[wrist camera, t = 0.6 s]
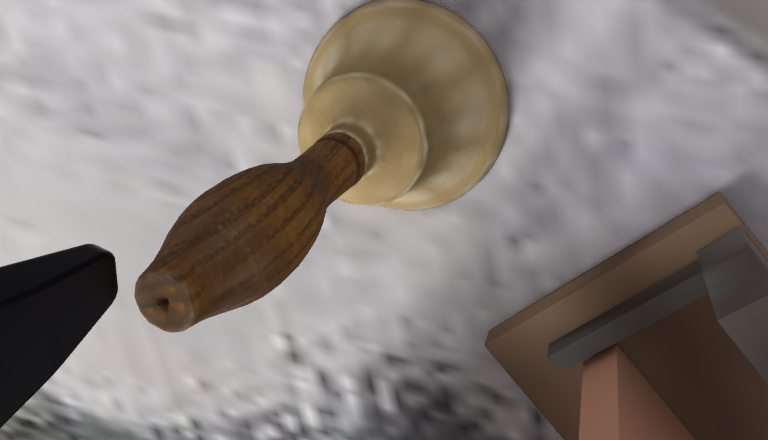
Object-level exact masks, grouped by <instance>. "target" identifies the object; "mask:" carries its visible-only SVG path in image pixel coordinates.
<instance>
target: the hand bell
mask: <svg viewBox="0 0 768 440" xmlns="http://www.w3.org/2000/svg"><path fill="white" fill-rule="evenodd" d="M508 117H509V103H508V94H507V89H506V84H505V79H504V76H503V73H502V71H501V68H500V66H499V63H498V61H497V59H496V57H495V55H494V54H493V52H492V50H491V49H490V47H489V46H488V44H487V43H486V42H485V40H484V39H483V38H482V37H481V36H480V35H479V33H478V32H477V31H476V30H475V29H474V28H473V27H472V26H471V25H469V24H468V23H467V22H466V21H464V20H463V19H462V18H460V17H459V16H458V15H456V14H454V13H453V12H451V11H449V10H447V9H445V8H443V7H440V6H437V5H435V4H432V3H428V2H425V1H420V0H382V1H377V2H373V3H370V4H367V5H365V6H363V7H360V8H358V9H356V10H354V11H353V12H351V13H350V14H348V15H347V16H345V17H344V18H342V19H341V20H340V21H338V22H337V23H336V24H335V25H334V26H333V27H332V28H331V29H330V30H329V31H328V33H327V34H326V35H325V36H324V37H323V38H322V40H321V42H320V43H319V45H318V47H317V48H316V50H315V52H314V54H313V56H312V58H311V60H310V64H309V67H308V69H307V73H306V77H305V82H304V89H303V109H302V112H301V115H300V119H299V124H298V144H299V149H300V153H301V155H300V156H299V157H298V158H296V159H295V160H294V161H292V162H288V163H272V164H262V165H259V166H256V167H252V168H249V169H247V170H244V171H242V172H240V173H237V174H235V175H233V176H231V177H229V178H227V179H225V180H223V181H222V182H220V183H219V184H217V185H215V186H214V187H212V188H211V189H209V190H207V191H206V192H204V193H203V194H202V195H200V196H199V197H198V198H197V199H196V200H194V201H193V202H192V203H191V204H190V205H189V206H188V207H187V208H186V209H185V210H184V212H183V213H182V214H181V215H180V216H179V218H178V219H177V221H176V222H175V224H174V225H173V227H172V228H171V230H170V231H169V233H168V234H167V237H166V239H165V241H164V243H163V245H162V247H161V249H160V251H159V252H158V254H157V256H156V257H155V259H154V260H153V262H152V263H151V264H150V265H149V267H148V268H147V269H146V270H145V271H144V272H143V273H142V274H141V275H140V276H139V278H138V280H137V282H136V286H135V299H136V302H137V305H138V307H139V309H140V312H141V313H142V314H143V316H144V317H145V318H146V319H147V320H148V322H149V323H151V324H153V325H155V326H156V327H158V328H160V329H162V330H164V331H167V332H181V331H184V330H186V329H188V328H190V327H191V326H193V325H195V324H196V323H198V322H200V321H202V320H204V319H206V318H209V317H212V316H215V315H218V314H221V313H224V312H227V311H230V310H233V309H236V308H239V307H242V306H245V305H248V304H250V303H252V302H254V301H256V300H258V299H260V298H262V297H264V296H265V295H266V294H268V293H269V292H270V291H272V290H273V289H275V288H276V287H277V286H278V285H280V284H281V283H282V282H283V281H284V280H285V279H286V278H287V277H288V276H289V275H290V274H291V273H292V272H293V271H294V270H295V269H296V268H297V267H298V266H299V264H300V263H301V262H302V260H303V259H304V258H305V256H306V255H307V254H308V252H309V250H310V249H311V247H312V246H313V244H314V242H315V240H316V238H317V236H318V235H319V232H320V230H321V227H322V225H323V222H324V217H325V213H326V209H327V207H328V206H329V205H330V204H331V203H332V202H333V201H335V200H336V199H337V198H338V199H340V200H342V201H345V202H347V203H351V204H355V205H363V206H375V205H379V206H382V207H386V208H391V209H397V210H425V209H430V208H435V207H438V206H442V205H444V204H447V203H449V202H451V201H454V200H456V199H457V198H459V197H461V196H463V195H464V194H466V193H467V192H468V191H470V190H471V189H472V188H473V187H474V186H475V185H477V184H478V183H479V182H480V181H481V180H482V179H483V178H484V177H485V176H486V174H487V173H488V171H489V170H490V168H491V167H492V165H493V164H494V162H495V161H496V159H497V157H498V154H499V152H500V150H501V147H502V145H503V142H504V139H505V135H506V130H507V126H508Z"/></svg>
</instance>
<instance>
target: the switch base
mask: <svg viewBox="0 0 768 440" xmlns="http://www.w3.org/2000/svg"><path fill="white" fill-rule="evenodd" d="M616 344H617V345H618V346H619V348H620V349H621V350H622V351H623V352H624V354H625V355H626V356H627V357H628V358H629V360H630V361H631V362H632V363H633V365H634V366H635V367H636V368H637V369H638V371H639V372H640V373H641V374H642V375H643V377H644V378H645V379H646V380H647V381H648V383H649V384H650V385H651V386H652V388H653V389H654V390H655V391H656V392H657V394H658V395H659V396H660V397H661V398H662V400H663V401H664V402H665V403H666V404H667V406H668V407H669V408H670V409H671V411H672V412H673V413H674V414H675V415H676V417H677V418H678V419H679V420H680V421H681V423H682V424H683V425H684V426H685V427H686V429H687V430H688V431H689V432H690V434H691V435H692V436H693V437H694V438H695V440H768V253H767V252H766V250H765V249H764V248H763V247H762V245H761V244H760V243H759V242H758V240H757V239H756V238H755V236H754V235H753V234H752V233H751V231H750V230H749V229H748V228H747V226H746V225H745V224H744V223H743V221H742V220H741V219H740V217H739V216H738V215H737V214H736V212H735V211H734V210H733V209H732V207H731V206H730V205H729V204H728V202H727V201H726V200H725V198H724V197H723V196H722V195H721V193H720V192H718V193H716V194H714V195H713V196H711V197H709V198H708V199H706V200H705V201H703V202H701V203H700V204H698V205H696V206H695V207H693V208H691V209H690V210H688V211H686V212H685V213H683V214H681V215H680V216H678V217H676V218H675V219H673V220H671V221H670V222H668V223H667V224H665V225H663V226H662V227H660V228H658V229H657V230H655V231H653V232H652V233H650V234H648V235H647V236H645V237H643V238H642V239H640V240H638V241H637V242H635V243H633V244H632V245H630V246H629V247H627V248H625V249H624V250H622V251H620V252H619V253H617V254H615V255H614V256H612V257H610V258H609V259H607V260H605V261H604V262H602V263H600V264H599V265H597V266H595V267H594V268H592V269H591V270H589V271H587V272H586V273H584V274H582V275H581V276H579V277H577V278H576V279H574V280H572V281H571V282H569V283H567V284H566V285H564V286H562V287H561V288H559V289H557V290H556V291H554V292H553V293H551V294H549V295H548V296H546V297H544V298H543V299H541V300H539V301H538V302H536V303H534V304H533V305H531V306H529V307H528V308H526V309H524V310H523V311H521V312H520V313H518V314H516V315H515V316H513V317H511V318H510V319H508V320H506V321H505V322H503V323H501V324H500V325H498V326H496V327H495V328H493V329H491V330H490V331H489V333H488V336H487V339H486V342H485V347H486V348H487V349H488V350H489V351H490V353H491V354H492V355H493V356H494V357H495V358H496V360H497V361H498V362H499V363H500V364H501V365H502V367H503V368H504V369H505V370H506V371H507V373H508V374H509V375H510V376H511V377H512V378H513V380H514V381H515V382H516V383H517V384H518V386H519V387H520V388H521V389H522V390H523V391H524V393H525V394H526V395H527V396H528V397H529V399H530V400H531V401H532V402H533V403H534V404H535V406H536V407H537V408H538V409H539V410H540V411H541V413H542V414H543V415H544V416H545V417H546V419H547V420H548V421H549V422H550V423H551V424H552V426H553V427H554V428H555V429H556V430H557V432H558V433H559V434H560V435H561V436H562V437H563V439H564V440H579V426H580V409H581V393H582V376H583V362H584V361H586V360H588V359H590V358H592V357H594V356H595V355H597V354H599V353H601V352H603V351H605V350H607V349H609V348H610V347H612V346H614V345H616Z"/></svg>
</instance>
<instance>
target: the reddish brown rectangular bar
mask: <svg viewBox="0 0 768 440" xmlns="http://www.w3.org/2000/svg"><path fill="white" fill-rule="evenodd" d="M579 440H695V438H694V437H693V436H692V435H691V434H690V432H689V431H688V430H687V429H686V427H685V426H684V425H683V424H682V423H681V421H680V420H679V419H678V418H677V417H676V415H675V414H674V413H673V412H672V411H671V409H670V408H669V407H668V406H667V404H666V403H665V402H664V401H663V400H662V398H661V397H660V396H659V395H658V394H657V392H656V391H655V390H654V389H653V388H652V386H651V385H650V384H649V383H648V381H647V380H646V379H645V378H644V377H643V375H642V374H641V373H640V372H639V371H638V369H637V368H636V367H635V366H634V365H633V363H632V362H631V361H630V360H629V358H628V357H627V356H626V355H625V354H624V352H623V351H622V350H621V349H620V348H619V346H618V345H617V344H616V345H614V346H612V347H610V348H609V349H607V350H605V351H603V352H601V353H599V354H597V355H595V356H594V357H592V358H590V359H588V360H586V361H584V362H583V376H582V393H581V409H580V426H579Z"/></svg>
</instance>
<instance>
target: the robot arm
mask: <svg viewBox="0 0 768 440" xmlns="http://www.w3.org/2000/svg"><path fill="white" fill-rule="evenodd" d="M117 291H118V283H117V273H116V263H115V257H114V255H113V254H112V253H111V252H110V251H107V250H105V249H103V248H101V247H99V246H97V245H94V244H85V245H81V246H77V247H73V248H70V249H66V250H62V251H58V252H55V253H51V254H47V255H43V256H40V257H36V258H32V259H29V260H25V261H21V262H17V263H14V264H10V265H6V266H2V267H0V428H1V427H2V426H3V425H4V424H5V423H6V422H7V421H8V420H9V419H10V418H11V417H12V416H13V415H14V414H15V413H16V412H17V411H18V410H19V409H20V408H21V407H22V406H23V405H24V404H25V403H26V402H27V401H28V400H29V399H30V398H31V397H32V396H33V395H34V394H35V393H36V392H37V391H38V390H39V389H40V388H41V387H42V386H43V385H44V384H45V383H46V382H47V381H48V380H49V378H50V377H51V376H52V375H53V374H54V373H55V372H56V371H57V370H58V369H59V367H60V366H61V365H62V364H63V363H64V362H65V360H66V359H67V358H68V357H69V356H70V354H71V353H72V352H73V351H74V349H75V348H76V347H77V346H78V344H79V343H80V342H81V341H82V340H83V338H84V337H85V336H86V335H87V333H88V332H89V331H90V330H91V329H92V327H93V326H94V325H95V324H96V322H97V321H98V320H99V319H100V318H101V316H102V315H103V314H104V313H105V311H106V310H107V309H108V308H109V307H110V305H111V304H112V303H113V301H114V299H115V297H116V295H117Z"/></svg>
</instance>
